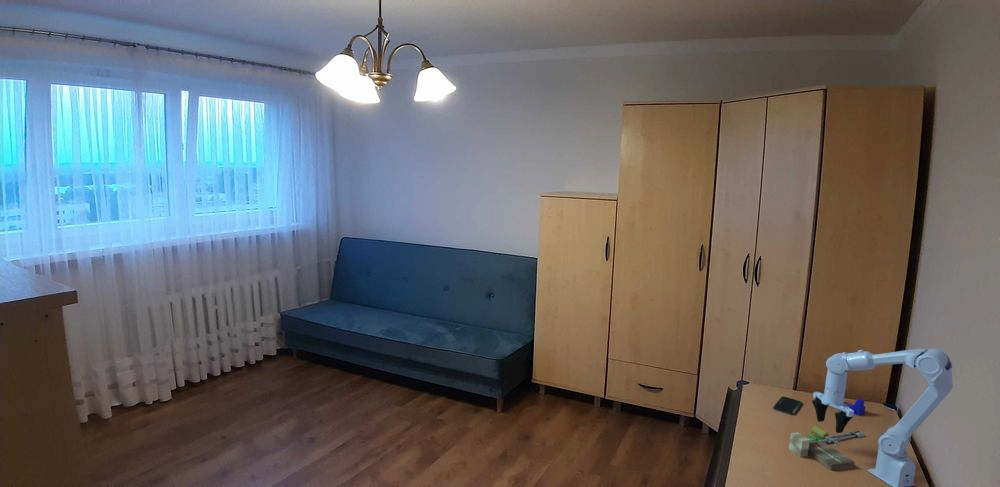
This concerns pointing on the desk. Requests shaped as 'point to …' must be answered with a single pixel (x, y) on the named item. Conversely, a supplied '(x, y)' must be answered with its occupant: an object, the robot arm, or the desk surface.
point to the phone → (787, 405)
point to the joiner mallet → (800, 444)
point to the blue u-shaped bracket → (858, 407)
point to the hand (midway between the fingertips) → (829, 426)
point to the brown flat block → (829, 456)
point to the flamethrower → (825, 436)
